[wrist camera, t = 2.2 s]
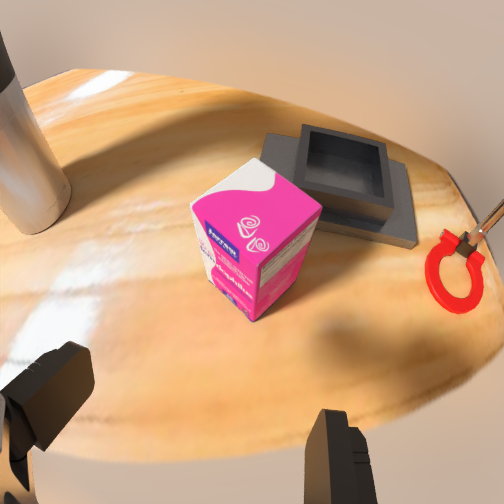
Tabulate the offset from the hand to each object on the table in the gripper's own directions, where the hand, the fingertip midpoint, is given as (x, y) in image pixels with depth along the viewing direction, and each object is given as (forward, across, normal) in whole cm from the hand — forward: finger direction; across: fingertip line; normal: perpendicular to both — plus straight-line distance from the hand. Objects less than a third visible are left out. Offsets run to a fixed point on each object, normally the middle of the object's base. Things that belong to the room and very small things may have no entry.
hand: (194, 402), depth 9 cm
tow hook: (+22, -22, -1) cm, 31 cm away
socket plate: (+28, -7, -7) cm, 29 cm away
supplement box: (+18, 0, +3) cm, 19 cm away
